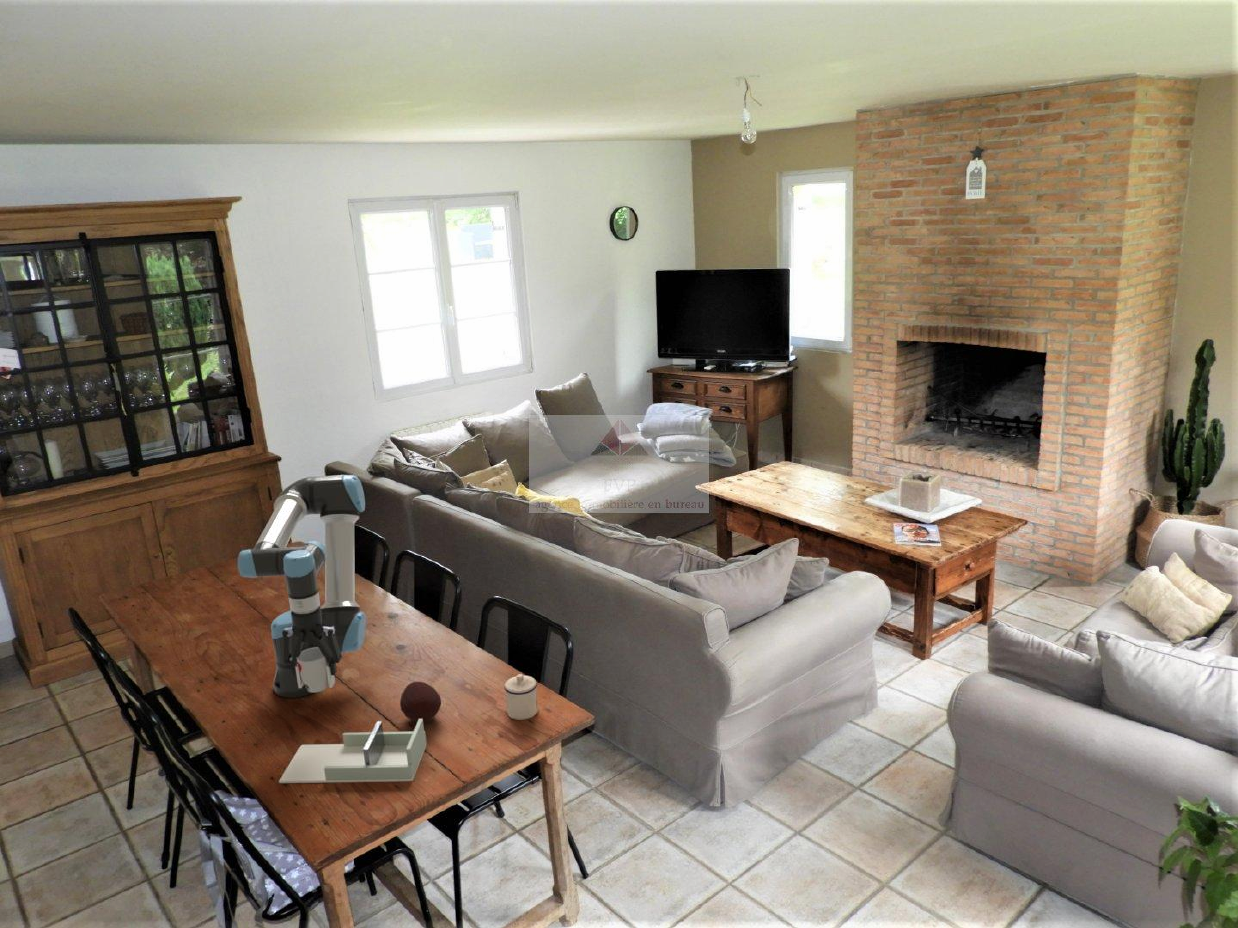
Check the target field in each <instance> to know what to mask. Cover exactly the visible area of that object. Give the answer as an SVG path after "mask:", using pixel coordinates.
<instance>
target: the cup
mask: <svg viewBox="0 0 1238 928" xmlns="http://www.w3.org/2000/svg"><path fill="white" fill-rule="evenodd" d="M296 658H297V657H296ZM297 662H298V667H299V672H300V675H301V677H302V680H303V683H304V685H305V687H306V688H307V690H308V691H309V692H312V693H311V694H313V693H315V694H316V693H320V692H323V691H325V689H326V688H327V687H328V677H327V670H326V665H327V664H328V662H327V661H326V659H325V657H324V656H323V654H322V652H321V651H320V649H319V647H315V648H309V649H306V650H304V651H302V652H301V654H300V655H299V657H298V658H297Z"/></svg>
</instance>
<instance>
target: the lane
mask: <svg viewBox="0 0 1238 928" xmlns="http://www.w3.org/2000/svg"><path fill="white" fill-rule="evenodd" d="M371 733H372V731H369V732H368V731H367V732H366V731H365V732H363V731H360V732H343V733H342V740H343V743H331V744H330V743H327V744H324V743H321V744H319V743H318V744H317V743H316V744H301V745H300V746H299V748H298V749H297V751H296V753H295V754H294V755H293V757H292V759H291V761H289V764H288V766H287V767H286V769H285V771H284V772H283V773H282V775H281V777H280V779H279V780H278V783H279V784H298V783H300V784H308V783H315V784H316V783H366V782H367V783H368V782H371V783H372V782H373V783H375V782H376V783H377V782H381V783H383V782H413V780H414V778H415V776H416V774H417V771H418V768H419V765H420V763H421V760H422V758H423V755H424V752H425V750H426V747H427V744H428V743H427V735H426V731H425V728H424V723H423V719H419V720H418V722H416V725H415V727H414V729H413V731H383V735H384V742H385V747H384V749H383V751H382V753H381V755H380V757H379V760H378V762H377V764H376V765H365V759H364V752H363V749H364V747H365V745H366V743H367V741H368V739H369V737H370V735H371Z"/></svg>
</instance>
